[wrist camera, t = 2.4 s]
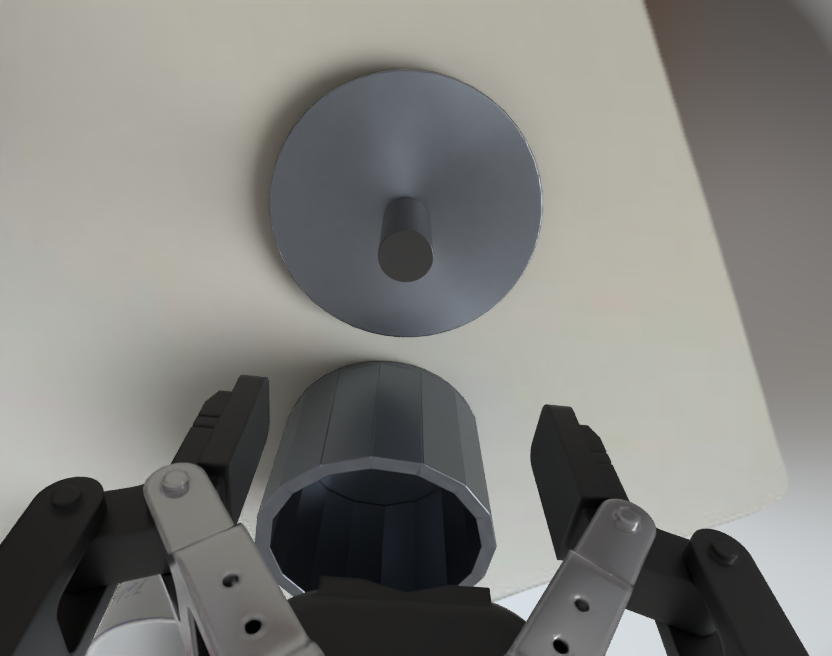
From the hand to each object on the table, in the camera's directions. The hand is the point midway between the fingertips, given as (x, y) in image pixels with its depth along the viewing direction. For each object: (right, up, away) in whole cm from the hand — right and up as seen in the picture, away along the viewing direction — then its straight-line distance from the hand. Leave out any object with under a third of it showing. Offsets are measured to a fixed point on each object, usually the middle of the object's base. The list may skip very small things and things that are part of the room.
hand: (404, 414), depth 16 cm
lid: (0, +8, +12) cm, 15 cm away
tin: (-2, -5, +20) cm, 21 cm away
